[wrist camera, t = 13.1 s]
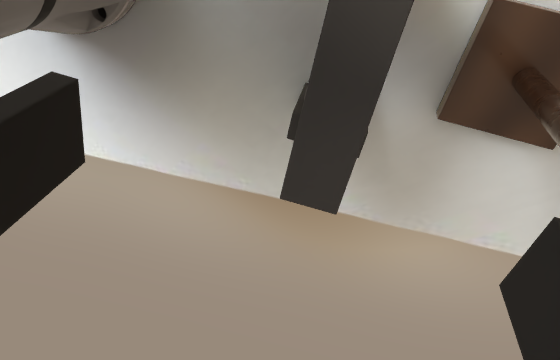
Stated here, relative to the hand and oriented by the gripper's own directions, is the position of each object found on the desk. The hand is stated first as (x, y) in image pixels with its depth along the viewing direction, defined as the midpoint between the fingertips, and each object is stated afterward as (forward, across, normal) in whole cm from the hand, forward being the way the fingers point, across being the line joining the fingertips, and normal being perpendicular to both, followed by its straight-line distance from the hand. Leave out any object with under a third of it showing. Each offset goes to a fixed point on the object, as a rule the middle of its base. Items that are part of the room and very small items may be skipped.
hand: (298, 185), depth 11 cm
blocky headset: (+26, +1, -2) cm, 26 cm away
